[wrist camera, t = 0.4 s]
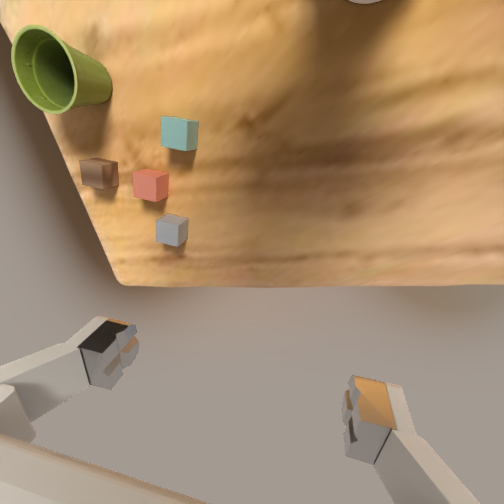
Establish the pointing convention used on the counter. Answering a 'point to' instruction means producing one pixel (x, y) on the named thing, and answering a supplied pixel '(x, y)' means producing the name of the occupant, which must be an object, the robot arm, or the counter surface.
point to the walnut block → (99, 173)
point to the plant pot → (57, 72)
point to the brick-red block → (150, 185)
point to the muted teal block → (179, 133)
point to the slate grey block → (171, 230)
